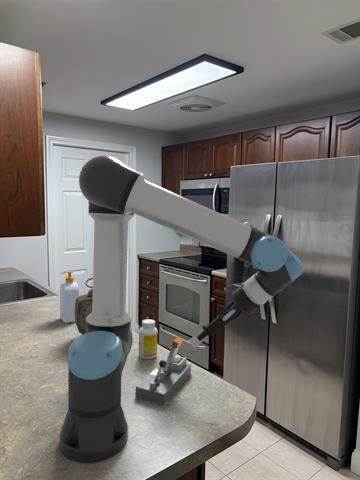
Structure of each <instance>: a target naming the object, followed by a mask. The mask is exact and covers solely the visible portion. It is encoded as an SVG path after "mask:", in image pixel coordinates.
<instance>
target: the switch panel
mask: <svg viewBox="0 0 360 480" xmlns="http://www.w3.org/2000/svg"><path fill="white" fill-rule="evenodd" d="M167 358H168V356H167V357H166V358H165V359H164V360H165V361H166V360H167ZM187 358H188V357H185V356H184V357H183V356H181V359H180V362H179V363H174V362H173V363H172V366H171V368H170V371H169V372H168V373H167V374H166V375H165V372H162V371H161V373H160V376H159V378H158V383H157V384H156V385H155V383H154V380H155V377H156V375H157V372H158V370H159V367H160V365H159V364H158V365H157V367H155V368H154V369H153V370H152V371H150V373H149V374H148V375H147V376H146V377H145V378H144V379H142V380H141V381H140V382H139V383H138V384H137V385H136V386H135V398H139V399H141V400H146V401H149V402H152V403H156V404H160V405H164V406H165V405H166V404H167V402H169V400H170V399H171V398H172V396H174V394H175V393H176V392H177V390H178V389H180V387H181V385H183V383H184V382H185V381H186V380H187V379H188V377H189V376H190V375H191V373H192V371H191V370H192V364H190V363H187ZM163 368H164V367H163ZM162 370H163V369H162Z"/></svg>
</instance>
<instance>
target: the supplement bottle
mask: <svg viewBox="0 0 360 480" xmlns="http://www.w3.org/2000/svg"><path fill="white" fill-rule="evenodd" d="M158 333H159V332H158V329H157V327H156V321H155V320H154V319H148V318H147V319H143V320H142V321H141V327H140V328H139V330H138V357H140V358H141V359H143V360H151V359H155V358H156V357H157V356H158Z"/></svg>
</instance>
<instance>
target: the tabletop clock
mask: <svg viewBox="0 0 360 480" xmlns="http://www.w3.org/2000/svg"><path fill="white" fill-rule="evenodd" d="M90 280H92V281H93V277H91V278H90V277H89V278H87V280H86V281H85V286H86V287H87V288H90V289H89V290H88V292H87V294H81V295H79V296H78V297H77V299H76V302H75V310H74V315H75V322H74V323H75V325H76V327H77V331H78V333H79V334H81V335H85V333H86V318H87V316H88V315H90V314H91V313H92V303H93V285H92V286H91V285H88V282H89V281H90Z"/></svg>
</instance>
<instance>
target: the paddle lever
mask: <svg viewBox="0 0 360 480" xmlns="http://www.w3.org/2000/svg"><path fill="white" fill-rule="evenodd" d="M183 343H184V338H183V337H181V336H176V338H174V339H173V341H172V342H171V348H170V350H169V354H168V355H167V357H168V358H167V357H166V358H167V360H166V366H165V367H164V368H163V370H162V372H165V375H166V374H167V373H168V372H169V371H170V368H171V366H172V363H173V361H174V358H175V356H176V354H177V353H178V351H179V349H180V346H181V345H182V344H183ZM177 355H178V354H177Z"/></svg>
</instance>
